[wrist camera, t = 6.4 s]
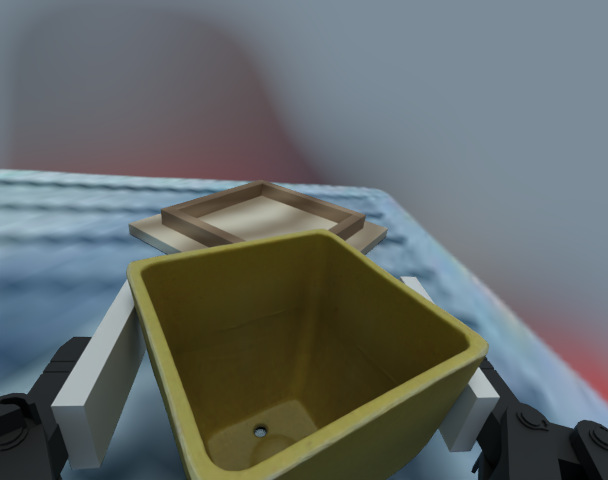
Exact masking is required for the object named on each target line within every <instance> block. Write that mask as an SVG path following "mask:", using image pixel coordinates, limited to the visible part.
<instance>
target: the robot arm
mask: <svg viewBox="0 0 608 480" xmlns="http://www.w3.org/2000/svg"><path fill="white" fill-rule="evenodd" d="M399 281H401V282H402V283H404V284H405V285H407V286H409V287H410V288H412V289H413V290H415V291H416V292H418V293H419V294H421V295H422V296H423V297H425V298H426V299H428V300H429V301H431V302H432V303H433V301H432V300H431V298H430V297H429V296H428V294H427V293H426V291H425V290H424V288H423V287H422V286H421V284H420V283H419V281H418V280H417V278H416V277H400V280H399ZM433 304H434V303H433ZM146 349H147V347H146V344H145V340H144V336H143V333H142V329H141V326H140V322H139V318H138V315H137V311H136V308H135V304H134V301H133V297H132V293H131V290H130V286H129V283H128V279H127V280H126V282H125V283H124V285H123V287H122V288H121V290H120V292H119V293H118V295H117V297H116V298H115V300H114V302H113V303H112V305H111V307H110V308H109V310H108V312H107V313H106V315H105V317H104V318H103V320H102V322H101V323H100V325H99V327H98V328H97V330H96V332H95V333H94V335H93V337H73V338H72V339H70V340H69V341H68V342H66V343H65V344H64V345H63V346H61V347H60V348H59V349H58V351H57V352H56V354H55V355H54V357H53V358H52V359H51V362H50V363H49V364H48V365H47V367H46V368H45V370H44V371H43V374H41V375H40V377H39V378H38V380H37V381H36V383H35V384H34V385H33V387H32V388H31V390H30V391H29V393H28V394H24V393H11V394H8V395H4V396H0V480H62V477H61V475H60V473H61V471H62V469H63V467H64V465H65V463H66V461H67V459H68V460H69V463H70V466H71V469H90V468H100V467H101V464H102V461H103V459H104V456H105V454H106V451H107V449H108V446H109V443H110V441H111V438H112V436H113V433H114V431H115V428H116V426H117V423H118V420H119V418H120V415H121V413H122V410H123V408H124V405H125V402H126V400H127V397H128V395H129V392H130V390H131V387H132V385H133V382H134V379H135V377H136V374H137V372H138V369H139V367H140V364H141V361H142V359H143V356H144V354H145V351H146ZM438 428H439V430H440V433H441V435H442V437H443V439H444V441H445V443H446V445H447V447H448V449H449V451H450V452H464V451H471V449H472V447H473V445H474V444H475V442H476V440H477V442H478V444H479V445H480V447H481V449H482V452H481V454H480V455H479V457H478V459H477V461H476V462H475V464H474V466H473V468H472V471H471V472H472V473H474V474H475V472H476V471H477V469H478V468H479V469H478V480H608V429H607V428H606V427H604V426H602V425H601V424H598V423H596V422H593V421H588V420H583V421H580V422H578V424H577V425H576V426H575V428H574V429H572V428H568V427H565V426H561V425H557V424H554V423H550V422H549V421H548V420H547V419H546V418H545V416H544V415H542V414H541V413H540V412H539V411H538V410H536V409H535V408H533V407H531V406H529V405H527V404H523V403H520V402H519V401H518V399H517V398H516V397H515V395H514V394H513V393H512V391H511V390H510V389H509V387H508V386H507V385H506V383H505V382H504V381H503V379H502V378H501V377H500V375H499V374H498V373H497V371H496V370H494V367H493V366H492V365H491V363H490V362H489V361H487V358H486V357H485V358H484V359H483V361H482V362H481V364H480V365H479V367H478V369H477V370H476V372H475V373H474V375H473V376H472V378H471V379H470V381H469V382H468V384H467V385H466V387H465V388H464V390H463V391H462V393H461V394H460V396H459V397H458V399H457V400H456V402H455V403H454V405H453V406H452V408H451V409H450V411H449V412H448V414H447V415H446V417H445V418H444V420H443V421H442V423H441V424H440V426H439V427H438Z"/></svg>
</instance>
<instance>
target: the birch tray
mask: <svg viewBox="0 0 608 480" xmlns="http://www.w3.org/2000/svg"><path fill="white" fill-rule="evenodd" d="M365 217H366V215H364V214H361V213H358V212H355V211H352V210H349V209H346V208H343V207H341V206H338V205H335V204H332V203H329V202H326V201H323V200H320V199H317V198H314V197H311V196H308V195H305V194H302V193H299V192H296V191H293V190H290V189H287V188H284V187H281V186H278V185H275V184H272V183H269V182H266V181H263V180H259V181H255V182H252V183H248V184H245V185H242V186H238V187H235V188H231V189H228V190H225V191H221V192H218V193H214V194H211V195H208V196H204V197H201V198H197V199H194V200H191V201H187V202H184V203H180V204H177V205H174V206H170V207H167V208H163V209H161V214H159V215H155V216H152V217H149V218H145V219H142V220H139V221H136V222H132V223H129V231H130V234H131V235H133V236H135V237H137V238H139V239H141V240H142V241H144V242H146V243H148V244H150V245H152V246H153V247H155V248H157V249H159V250H161V251H162V252H164V253H166V254H168V255H170V254H175V253H181V252H187V251H192V250H199V249H205V248H210V247H215V246H221V245H228V244H234V243H239V242H245V241H250V240H256V239H262V238H267V237H273V236H278V235H284V234H289V233H295V232H300V231H305V230H312V229H326V230H328V231H330V232H332V233H334V234H335V235H337V236H339V237H340V238H342V239H343V240H344V241H345V242H347V243H348V244H350V245H351V246H352V247H354V248H355V249H357V250H358V251H359V252H361V253H362V254H363V255H365V254H367V253H368V252H369V251H370V250H371V249H372V248H374V247H375V246H376V245H377V244H378V243H379V242H380V241H382V240H383V239H384V238H385V237H386V234H387V230H388V229H387V228H385V227H382V226H379V225H376V224H373V223H370V222H367V221H365Z"/></svg>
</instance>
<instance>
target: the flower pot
mask: <svg viewBox="0 0 608 480" xmlns="http://www.w3.org/2000/svg"><path fill="white" fill-rule="evenodd" d="M126 275H127V279H128V283H129V286H130V290H131V293H132V297H133V301H134V304H135V308H136V311H137V315H138V318H139V322H140V326H141V329H142V333H143V336H144V340H145V344H146V347H147V351H148V355H149V359H150V362H151V366H152V369H153V373H154V376H155V379H156V381H157V384H158V387H159V390H160V393H161V396H162V399H163V402H164V405H165V409H166V412H167V415H168V419H169V422H170V425H171V429H172V432H173V435H174V439H175V442H176V445H177V449H178V452H179V455H180V459H181V462H182V465H183V469H184V472H185V476H186V479H187V480H386V479H387V478H389V477H390V476H392V475H393V474H395V473H396V472H397V471H399V470H400V469H401V468H403V467H404V466H405V465H406V464H407V463H409V462H410V461H411V460H412V459H413V458H414V457H415V456H416V455H417V454H418V453H419V452H420V451H421V450H422V449H423V448H424V446H425V445H426V444H427V443H428V442H429V440H430V439H431V438H432V436H433V435H434V433H435V432H436V430H437V429H438V427H439V426H440V424H441V423H442V421H443V420H444V418H445V417H446V415H447V414H448V412H449V411H450V409H451V408H452V406H453V405H454V403H455V402H456V400H457V399H458V397H459V396H460V394H461V393H462V391H463V390H464V388H465V387H466V385H467V384H468V382H469V381H470V379H471V378H472V376H473V375H474V373H475V372H476V370H477V369H478V367H479V365H480V364H481V362H482V361H483V359H484V358H485V356H486V354H487V353H488V348H489V344H488V343H487V341H486V340H484V339H483V338H482V337H481V336H480V335H479V334H477V333H476V332H475V331H473V330H472V329H470V328H469V327H468V326H466V325H465V324H464V323H462V322H461V321H459V320H458V319H456V318H455V317H453V316H452V315H450V314H449V313H448V312H446V311H445V310H443V309H441V308H440V307H438V306H437V305H435V304H433V303H432V302H431V301H429V300H428V299H426V298H425V297H423V296H422V295H421V294H419V293H418V292H416V291H415V290H413V289H412V288H410V287H409V286H407V285H405V284H404V283H402V282H401V281H399V280H398V279H396V278H395V277H393V276H392V275H391V274H389V273H388V272H386V271H385V270H384V269H382V268H381V267H379V266H378V265H376V264H375V263H374V262H373V261H371V260H370V259H369V258H367V257H366V256H365V255H363V254H362V253H361V252H359V251H358V250H357V249H355V248H354V247H352V246H351V245H350V244H348V243H347V242H345V241H344V240H343V239H342V238H340V237H339V236H337V235H335V234H334V233H332V232H330V231H328V230H326V229H312V230H305V231H300V232H295V233H289V234H284V235H278V236H273V237H267V238H262V239H256V240H250V241H245V242H239V243H234V244H228V245H221V246H215V247H210V248H205V249H199V250H192V251H187V252H181V253H175V254H170V255H163V256H157V257H152V258H148V259H143V260H139V261H134V262H131V263H130V264H129V265H128V267H127V270H126ZM258 427H264V428H265V429H266V431H267V433H266V435H265V436H263V437H257V436H256V435H255V433H254V432H255V430H256V428H258Z"/></svg>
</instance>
